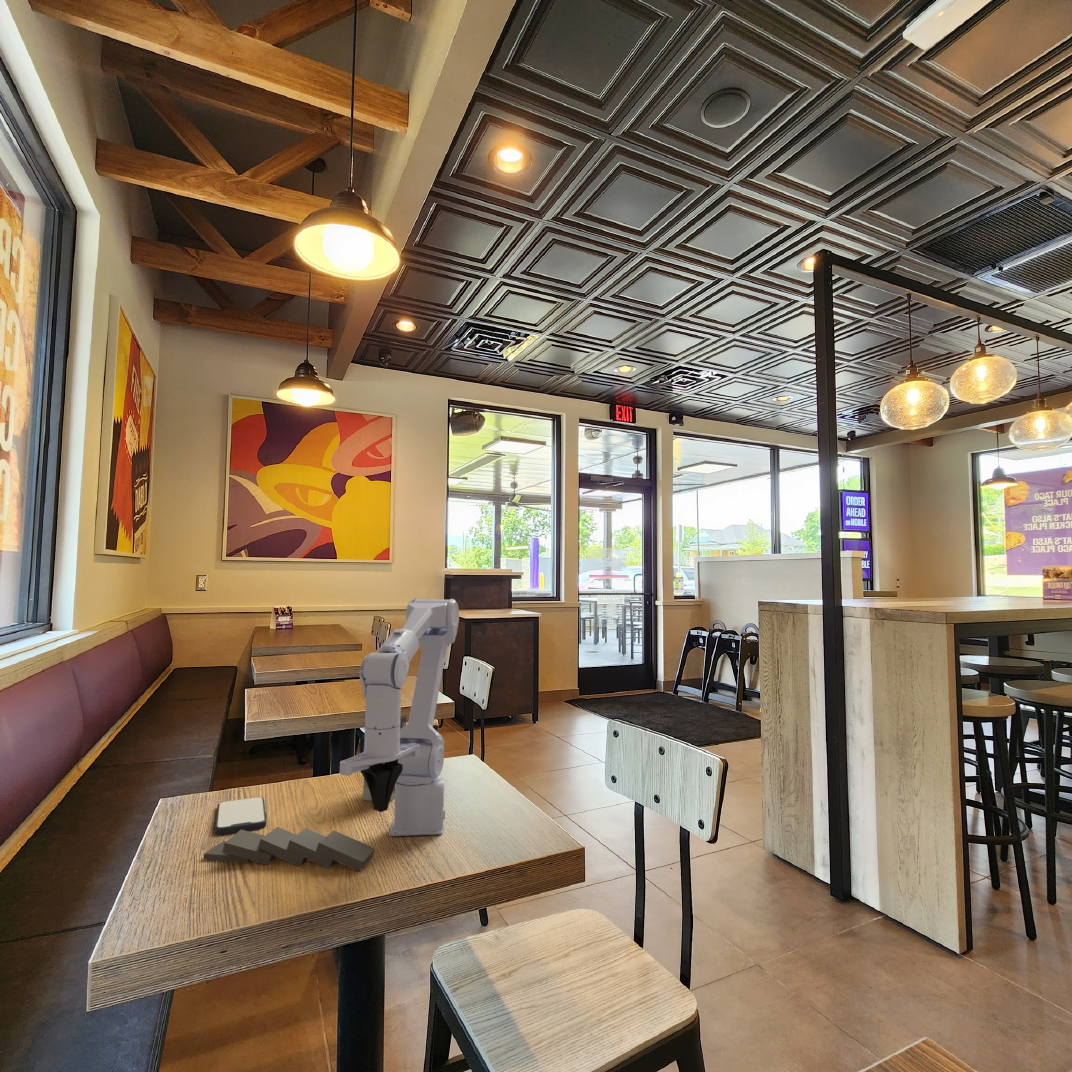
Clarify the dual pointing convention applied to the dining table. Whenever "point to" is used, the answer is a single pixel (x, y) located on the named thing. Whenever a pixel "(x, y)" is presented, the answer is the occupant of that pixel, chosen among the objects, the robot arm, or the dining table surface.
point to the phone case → (240, 816)
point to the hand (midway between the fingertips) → (380, 809)
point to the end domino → (223, 855)
